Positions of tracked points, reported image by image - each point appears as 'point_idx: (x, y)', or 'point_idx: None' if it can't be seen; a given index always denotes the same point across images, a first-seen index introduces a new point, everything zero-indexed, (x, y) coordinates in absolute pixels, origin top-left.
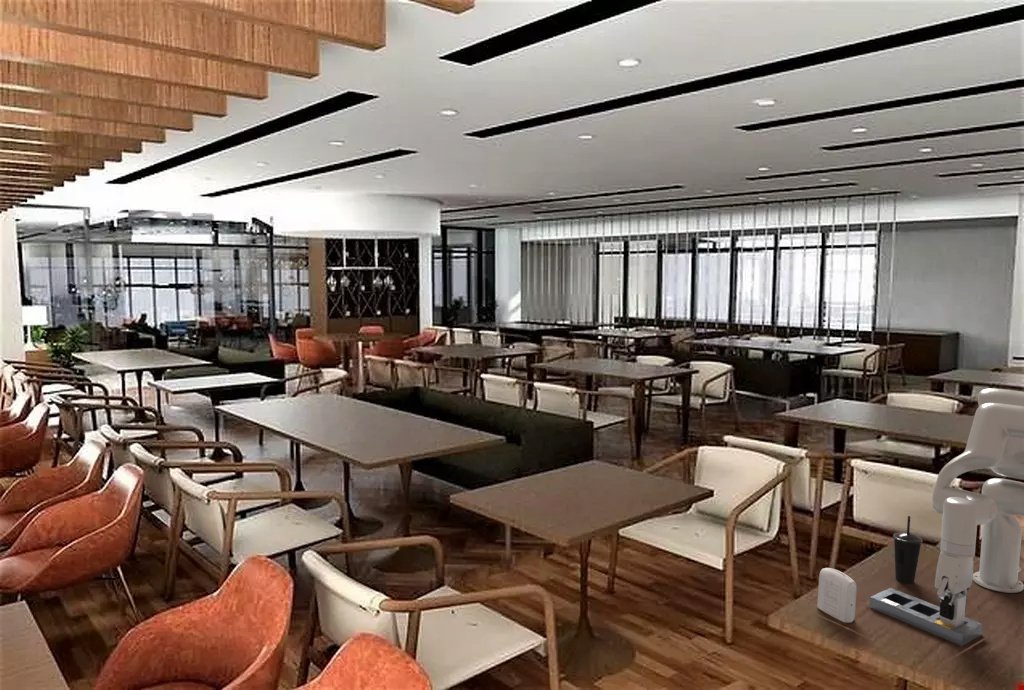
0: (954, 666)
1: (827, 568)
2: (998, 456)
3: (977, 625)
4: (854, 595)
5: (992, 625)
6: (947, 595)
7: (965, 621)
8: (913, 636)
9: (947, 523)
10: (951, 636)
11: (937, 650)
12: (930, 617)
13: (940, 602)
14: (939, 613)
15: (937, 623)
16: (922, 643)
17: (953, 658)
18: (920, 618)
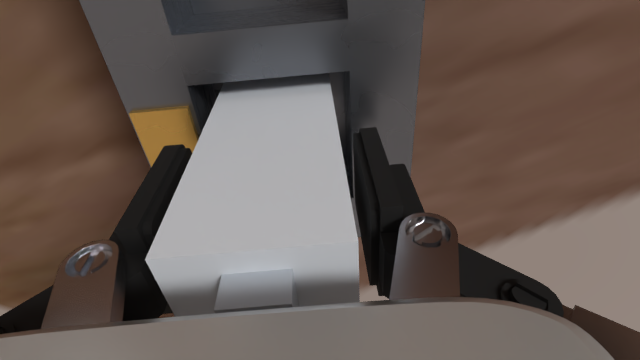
0: (46, 259)
1: None
2: None
3: (359, 232)
4: None
5: (554, 155)
6: (171, 303)
7: (352, 182)
8: (17, 23)
9: None
10: None
11: (61, 172)
12: (170, 49)
13: (122, 217)
14: (303, 42)
15: (137, 134)
16: (23, 101)
17: (89, 231)
18: (87, 3)
